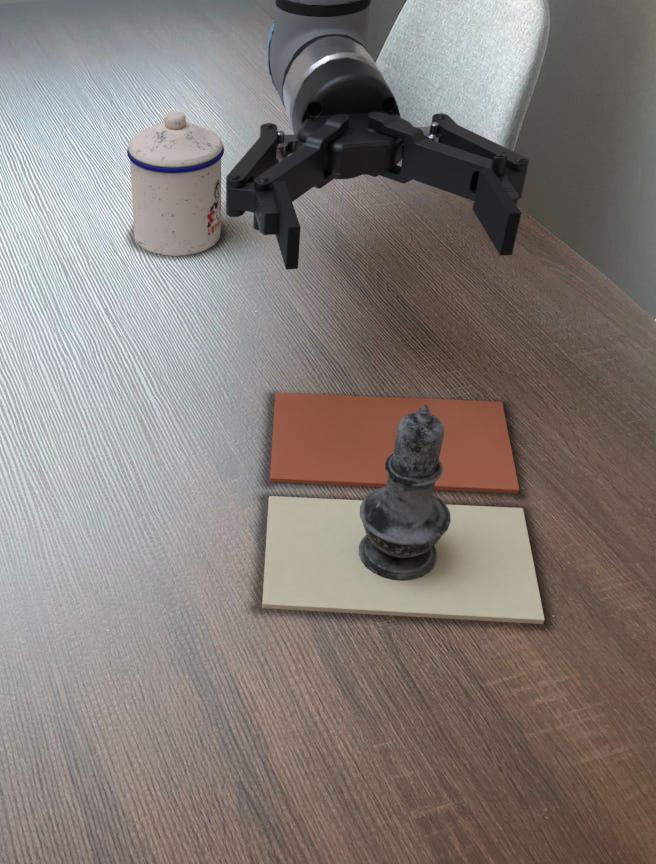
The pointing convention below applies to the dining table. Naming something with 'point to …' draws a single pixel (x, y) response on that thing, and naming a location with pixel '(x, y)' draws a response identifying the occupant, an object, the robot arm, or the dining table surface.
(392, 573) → the dark grey chess piece
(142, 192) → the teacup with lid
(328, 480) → the terracotta mat
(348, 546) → the cream mat
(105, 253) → the dining table surface
